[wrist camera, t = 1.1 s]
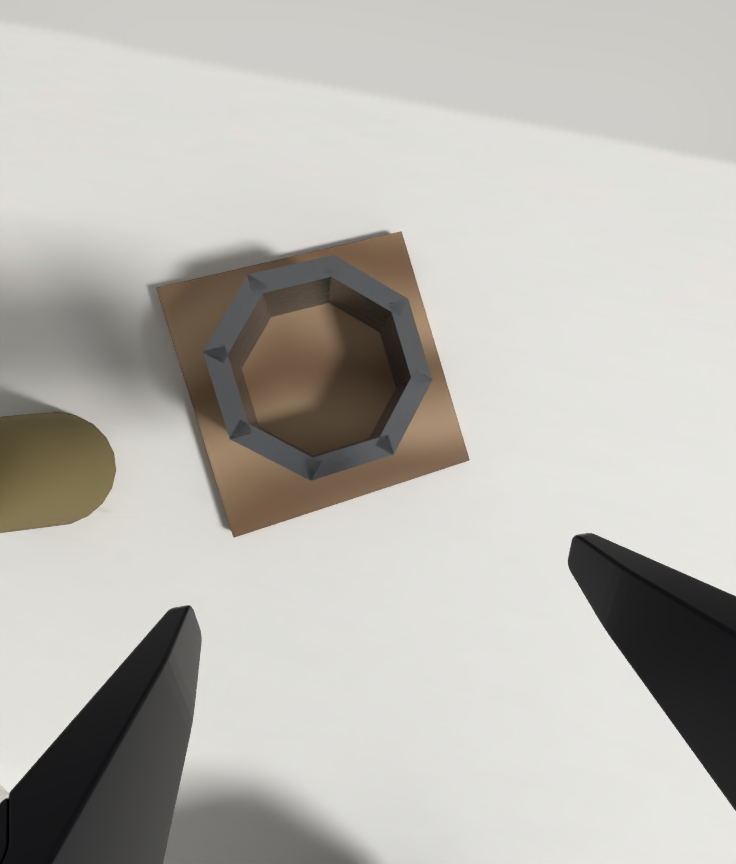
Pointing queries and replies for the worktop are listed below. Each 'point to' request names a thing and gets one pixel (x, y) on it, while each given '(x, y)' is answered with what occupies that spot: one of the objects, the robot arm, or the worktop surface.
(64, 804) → the robot arm
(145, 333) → the worktop surface
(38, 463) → the cork
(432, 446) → the walnut plate
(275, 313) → the metal collar
